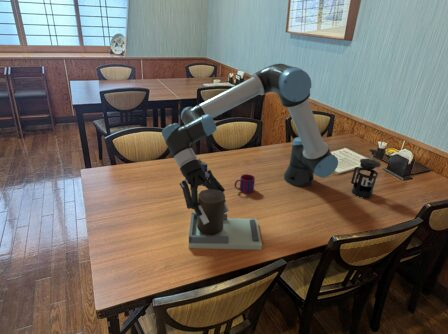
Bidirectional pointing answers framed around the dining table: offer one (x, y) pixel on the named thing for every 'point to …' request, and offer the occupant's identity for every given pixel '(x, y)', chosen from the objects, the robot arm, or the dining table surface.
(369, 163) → the french press
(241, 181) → the mug
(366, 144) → the dining table surface
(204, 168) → the flask
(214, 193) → the pillar candle
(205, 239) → the deck plate
